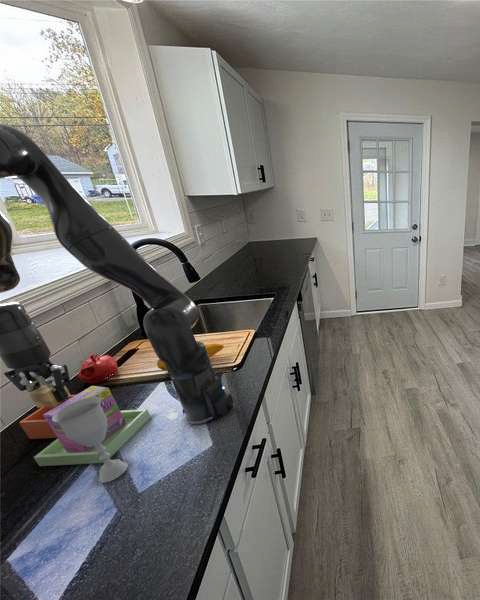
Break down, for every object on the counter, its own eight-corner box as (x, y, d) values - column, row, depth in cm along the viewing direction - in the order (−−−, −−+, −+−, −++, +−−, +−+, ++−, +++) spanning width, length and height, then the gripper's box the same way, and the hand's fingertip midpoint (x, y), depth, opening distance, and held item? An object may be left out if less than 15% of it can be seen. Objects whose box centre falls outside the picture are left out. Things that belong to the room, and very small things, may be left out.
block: (71, 395, 85) (63, 381, 83) (54, 406, 80) (46, 392, 79) (54, 396, 85) (46, 382, 83) (37, 407, 80) (28, 393, 79)
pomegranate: (112, 366, 112) (101, 343, 108) (127, 372, 107) (116, 349, 104) (77, 382, 104) (64, 358, 100) (91, 390, 99) (77, 365, 96)
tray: (151, 417, 86) (147, 409, 85) (105, 462, 72) (100, 453, 71) (95, 420, 86) (90, 412, 85) (39, 466, 73) (33, 457, 72)
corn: (153, 349, 105) (219, 331, 115) (161, 367, 109) (225, 348, 119) (152, 360, 100) (222, 340, 110) (160, 379, 103) (227, 358, 113)
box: (84, 455, 74) (60, 416, 69) (65, 452, 75) (41, 414, 70) (127, 423, 83) (109, 386, 79) (110, 421, 84) (91, 385, 80)
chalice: (98, 492, 65) (57, 426, 59) (87, 478, 69) (47, 414, 62) (139, 466, 71) (106, 403, 64) (127, 454, 74) (94, 392, 68)
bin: (103, 409, 90) (94, 393, 88) (68, 437, 81) (58, 420, 79) (68, 411, 90) (59, 395, 88) (29, 439, 81) (18, 422, 79)
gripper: (-28, 354, 73) (11, 412, 79) (33, 351, 72) (67, 409, 79) (9, 338, 79) (42, 392, 86) (64, 335, 79) (93, 390, 86)
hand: (53, 400), depth 82 cm, fingers closed on block, 4 cm apart
